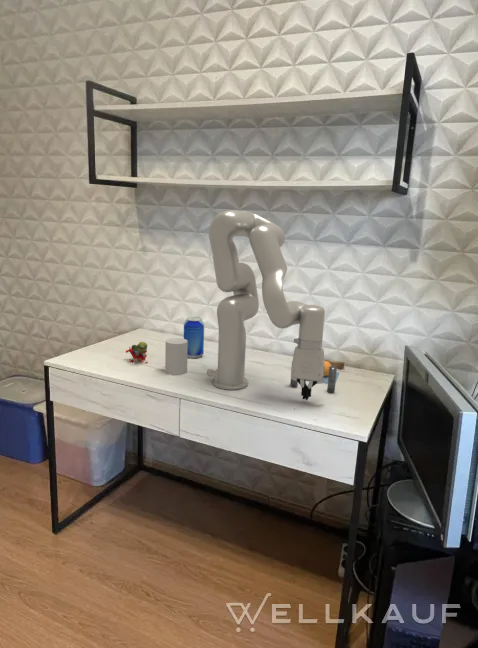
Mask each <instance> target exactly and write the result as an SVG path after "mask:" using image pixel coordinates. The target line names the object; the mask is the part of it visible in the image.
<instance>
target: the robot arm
mask: <svg viewBox="0 0 478 648" xmlns="http://www.w3.org/2000/svg"><path fill="white" fill-rule="evenodd" d="M284 233H285V232H284V231H283V229H282V228H281V227H280V226H279V225H277V224H275V223H274V222H272V221H270V220H268V219H266V218H264V217H262V216H260V215H258V214H256V213H254V212H252V211H249V210H237V209H231V210H225V211H222V212H219V213H218V214H216V215H215V216H214V218H213V220H211V222H210V225H209V227H208V239H209V240H208V241H209V243H210V244H209V245H210V249H211V253H212V261H213V269H214V274H215V282H216V284H217V285H216V286H217V288H218V289H219V290H220V291H222V292H224V293H231V292H232V294H233V295H230V296H227V297H225V298H223V299H222V300H221V301H220V302H219V303H218V305H217V307H216V317H217V324H218V347H217V348H218V350H217V353H218V354H217V369H210V368H208V369H207V370H206V374H207V376H208V377H213V378H212V384H213V385H214V387H217V388H218V389H223V390H230V391H231V390H233V391H234V390H235V391H237V390H243V389H245V388H247V387H248V386H249V380H248V379H247V378H246V377H245V367H246V348H247V347H246V346H247V345H246V344H247V331H246V327H245V323H244V322H245V321H247V320H251V319H252V318H254V317H255V316H256V315H257V314H258V312H259V307H260V303H259V295H258V288H257V282H256V277H255V273H254V271H253V268H251V266H250V265H249V264H247V263H245V262H240V261H239V254H238V250H237V249H238V248H237V246H236V244H235V242H234V240H233V238H234V237H246V238H248V240H249V244H250V247H251V250H252V252H253V256H254V259H255V260H256V264H257V266H258V269H259V271H260V274H261V278H262V281H261V295H262V297H261V298H262V301H263V304H264V308H265V310H266V313H267V315H268V319H269V320H270V322H271V323H272V324H273V326H274V327H276V328H279V329H287V328H290V327H291V326H295V325H298V324H299V326H298V327H299V329H298V338H294V339H293V343H295V344H296V345H297V346H295V348H294V350H293V357H292V361H291V367H292V369H290V370H291V372H290V380H291V379H293V380H295V381H297V382H298V385H300V387H301V392H300V396H302V400H306V401H308V400H309V398H310V397H311V395H312V388H313V387H314V386H316V385H323V384H325V383H324V377H323V376H324V360H325V350H324V348H323V336H324V326H325V317H326V316H325V314H326V313H325V308H324V307H323V306H321V305H316V304H308V303H307V304H306V303H304V302H300V301H295V300H291V301H288V302H287V300H286V297H285V293H284V287H283V284H284V278H285V276H286V274H287V272H288V266H287V263H286V260H285V258H284V255H283V253H282V249H281V248H282V246H283V245H284V244H285V237H286V236H285V234H284ZM306 380H309V381H308V384H307V383H306V382H307V381H306Z"/></svg>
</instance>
